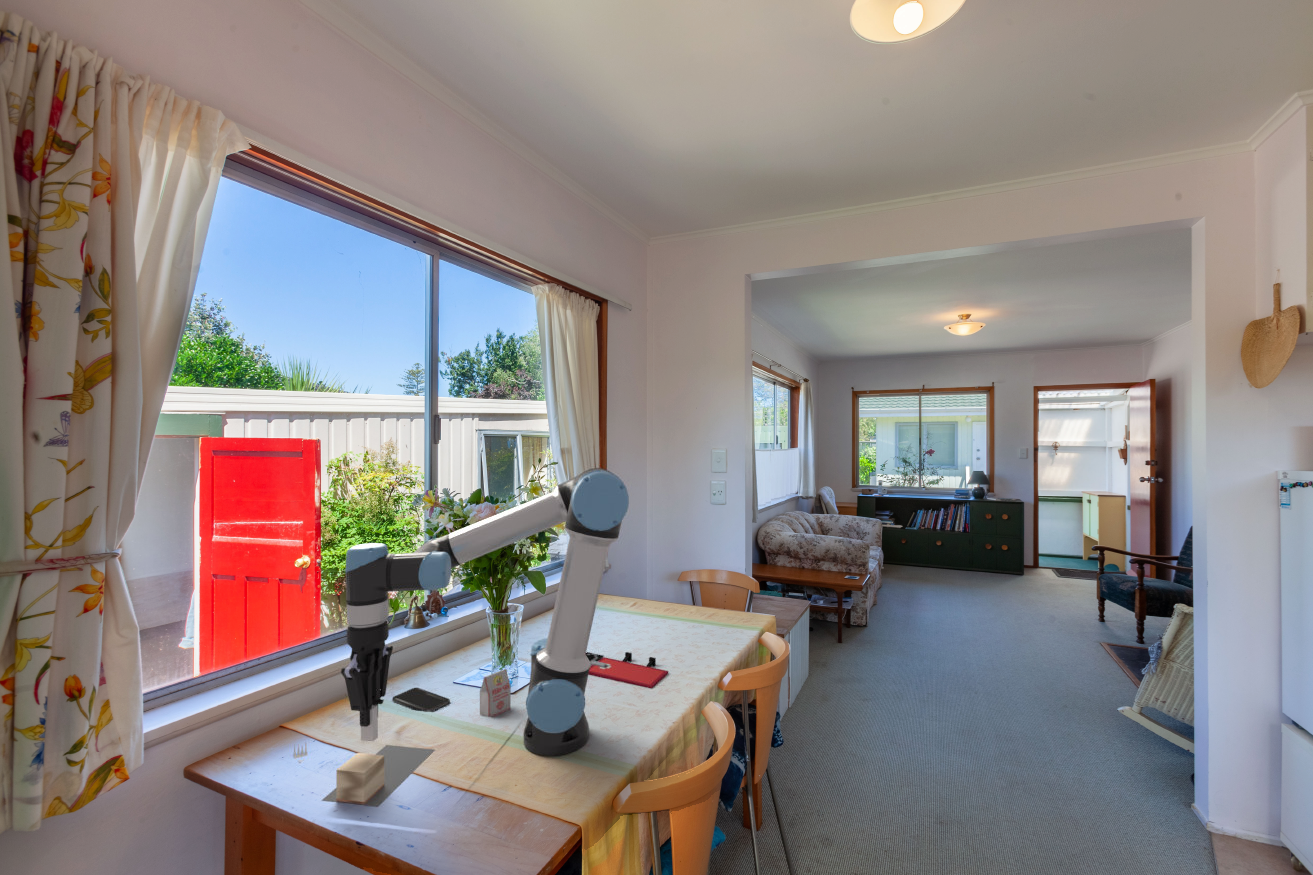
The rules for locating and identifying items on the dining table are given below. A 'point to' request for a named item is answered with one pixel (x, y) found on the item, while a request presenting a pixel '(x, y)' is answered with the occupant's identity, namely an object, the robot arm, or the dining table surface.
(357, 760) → the cube
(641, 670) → the red board with handle
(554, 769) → the dining table surface
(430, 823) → the dining table surface
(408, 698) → the phone
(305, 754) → the fork
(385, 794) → the mat
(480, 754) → the dining table surface
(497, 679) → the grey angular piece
